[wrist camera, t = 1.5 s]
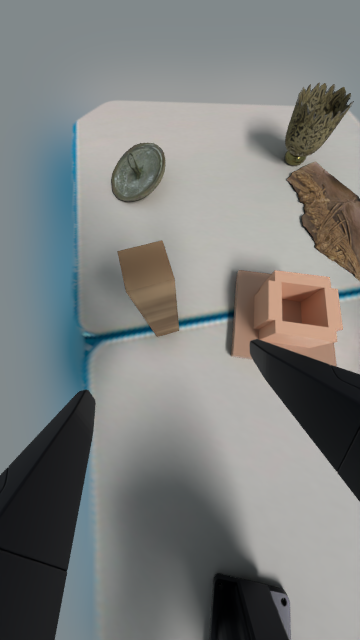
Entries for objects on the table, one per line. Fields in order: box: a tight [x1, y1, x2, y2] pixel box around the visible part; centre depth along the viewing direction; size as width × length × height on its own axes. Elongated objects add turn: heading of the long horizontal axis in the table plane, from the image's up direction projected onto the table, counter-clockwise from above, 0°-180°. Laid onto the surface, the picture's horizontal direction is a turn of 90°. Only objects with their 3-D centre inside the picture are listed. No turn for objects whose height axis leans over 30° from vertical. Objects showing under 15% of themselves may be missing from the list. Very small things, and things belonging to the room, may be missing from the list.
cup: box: [285, 83, 354, 166], centre depth 29 cm, size 8×7×8 cm
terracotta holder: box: [231, 270, 343, 366], centre depth 21 cm, size 12×12×5 cm
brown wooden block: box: [117, 241, 179, 337], centre depth 17 cm, size 3×3×13 cm
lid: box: [111, 143, 165, 202], centre depth 29 cm, size 11×10×5 cm
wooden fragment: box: [287, 161, 360, 281], centre depth 28 cm, size 26×11×1 cm, turn 3°
